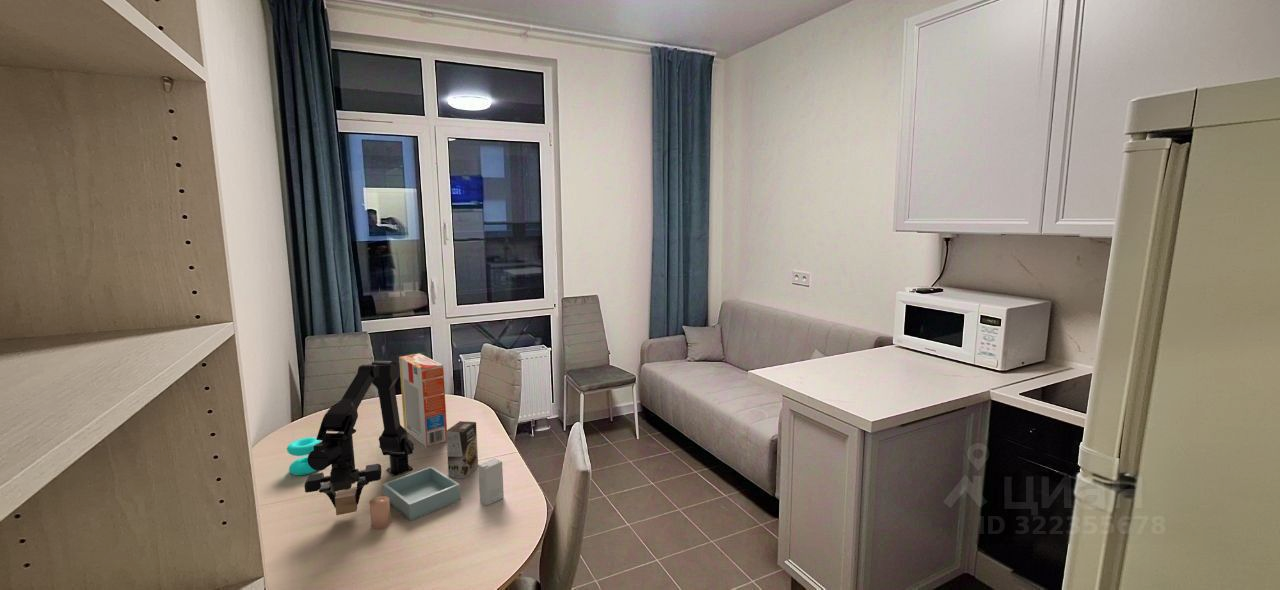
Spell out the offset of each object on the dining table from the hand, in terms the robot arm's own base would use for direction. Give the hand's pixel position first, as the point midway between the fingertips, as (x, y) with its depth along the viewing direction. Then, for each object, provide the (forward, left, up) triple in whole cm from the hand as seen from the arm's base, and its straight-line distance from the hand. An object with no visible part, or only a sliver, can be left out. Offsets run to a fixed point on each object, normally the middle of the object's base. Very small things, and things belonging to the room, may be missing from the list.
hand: (347, 505), depth 155 cm
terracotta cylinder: (+10, +5, -4) cm, 12 cm away
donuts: (-42, +2, -4) cm, 42 cm away
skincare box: (+22, +33, -4) cm, 40 cm away
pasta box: (-40, +43, -4) cm, 59 cm away
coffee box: (-1, +37, -4) cm, 37 cm away
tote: (+6, +19, -4) cm, 20 cm away
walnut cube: (0, 0, -1) cm, 1 cm away
